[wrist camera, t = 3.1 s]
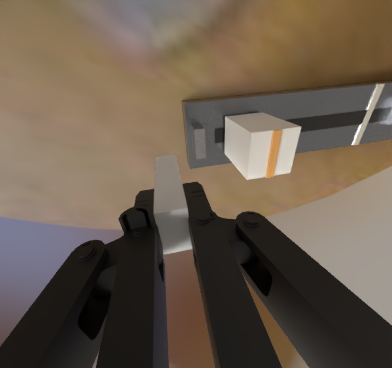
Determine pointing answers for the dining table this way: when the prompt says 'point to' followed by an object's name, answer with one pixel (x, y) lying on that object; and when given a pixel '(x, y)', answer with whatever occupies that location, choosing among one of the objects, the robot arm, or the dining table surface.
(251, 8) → the dining table surface
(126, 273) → the robot arm
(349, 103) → the grey slider track
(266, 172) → the fader
